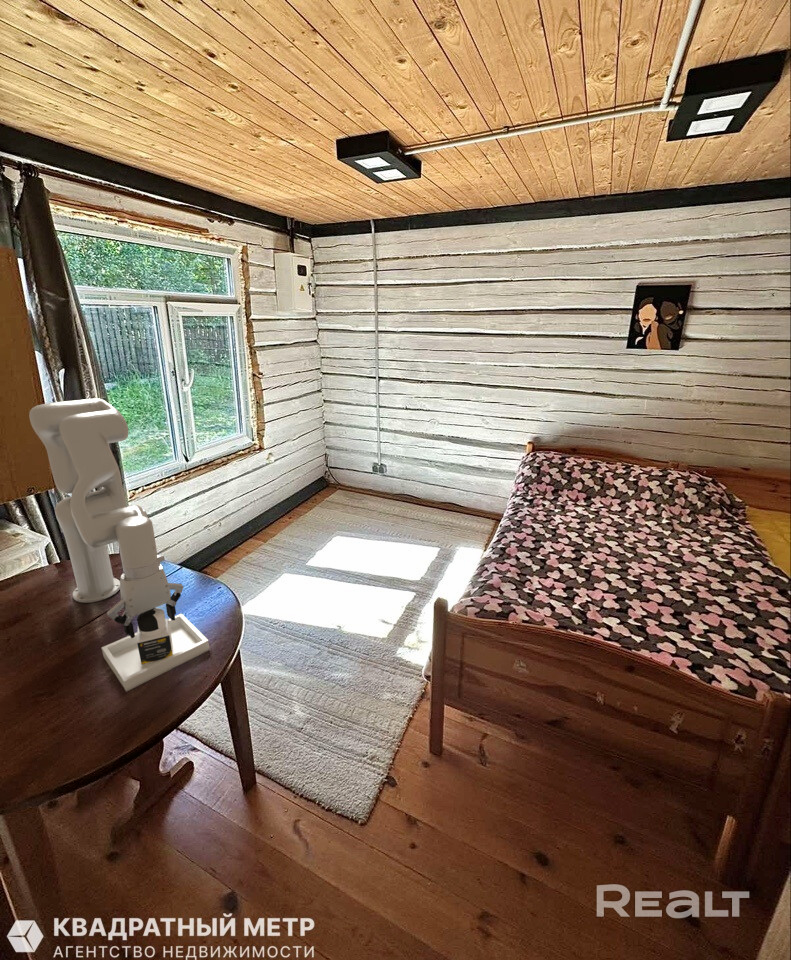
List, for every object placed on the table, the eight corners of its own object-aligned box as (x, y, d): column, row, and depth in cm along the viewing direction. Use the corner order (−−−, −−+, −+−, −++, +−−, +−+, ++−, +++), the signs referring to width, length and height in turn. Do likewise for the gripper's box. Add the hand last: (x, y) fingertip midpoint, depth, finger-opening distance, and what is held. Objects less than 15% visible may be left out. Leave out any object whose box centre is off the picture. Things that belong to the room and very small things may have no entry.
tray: (103, 657, 118) (101, 647, 117) (182, 622, 132) (181, 613, 131) (126, 691, 108) (124, 681, 107) (209, 649, 122) (208, 640, 121)
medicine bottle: (141, 665, 115) (133, 625, 111) (141, 647, 121) (134, 608, 117) (173, 657, 118) (166, 617, 114) (172, 640, 124) (165, 601, 120)
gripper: (171, 549, 120) (180, 605, 126) (95, 574, 108) (108, 634, 114) (184, 560, 115) (192, 618, 121) (106, 587, 103) (119, 650, 109)
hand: (151, 626), depth 117 cm, fingers open, 9 cm apart
